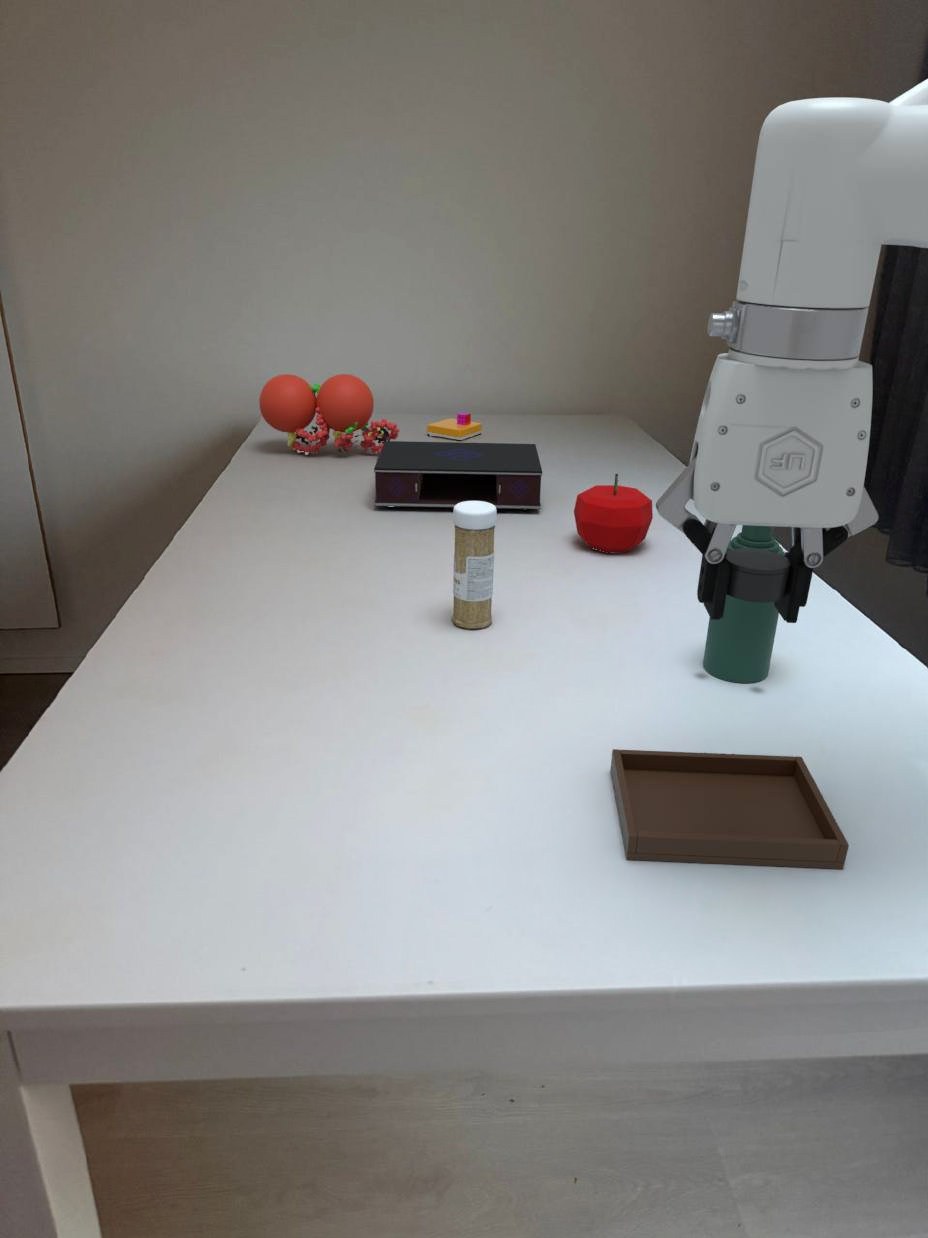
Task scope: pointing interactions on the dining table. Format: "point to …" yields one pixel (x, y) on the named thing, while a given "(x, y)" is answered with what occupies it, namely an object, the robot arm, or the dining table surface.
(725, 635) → the flask
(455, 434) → the orange slab with cube
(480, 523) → the spice jar
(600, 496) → the apple
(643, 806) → the tray
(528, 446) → the low media console
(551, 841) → the dining table surface
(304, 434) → the molecule
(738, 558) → the flask cap
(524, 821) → the dining table surface
